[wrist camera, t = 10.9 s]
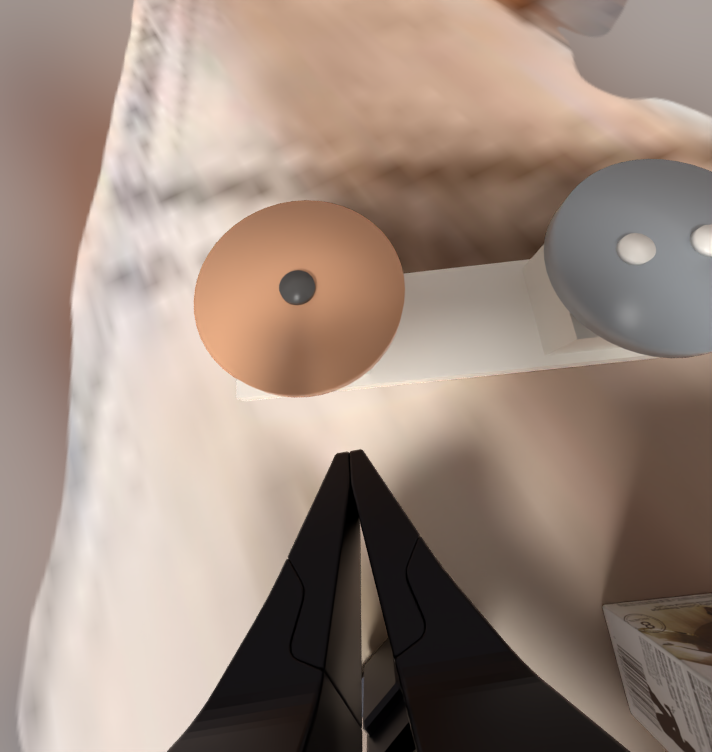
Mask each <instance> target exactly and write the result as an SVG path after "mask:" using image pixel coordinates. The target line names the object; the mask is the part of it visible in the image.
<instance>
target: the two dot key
mask: <svg viewBox="0 0 712 752" xmlns="http://www.w3.org/2000/svg"><path fill="white" fill-rule="evenodd" d="M544 261H545V266H546V271H547V274H548V277H549V280H550V282H551V285H552V287H553V288H554V290H555V292H556V294H557V296H558V297H559V299H560V300H561V302H562V303H563V304H564V306H565V307H566V308H567V309H568V311H569V312H570V313H571V314H572V315H573V316H574V317H575V318H576V319H577V320H578V321H579V322H580V323H582V324H583V325H584V326H585V327H586V328H588V329H589V330H590V331H592V332H593V333H595V334H596V335H597V336H599V337H601V338H603V339H605V340H606V341H608V342H610V343H612V344H614V345H616V346H619V347H621V348H623V349H626V350H629V351H632V352H636V353H639V354H643V355H648V356H653V357H662V358H687V357H693V356H699V355H704V354H707V353H711V352H712V172H711V171H709V170H706V169H703V168H700V167H697V166H694V165H691V164H687V163H682V162H678V161H671V160H663V159H642V160H632V161H626V162H621V163H618V164H614V165H611V166H608V167H606V168H604V169H601V170H599V171H597V172H595V173H594V174H592V175H590V176H589V177H587V178H586V179H585V180H584V181H582V182H581V183H580V184H579V185H578V186H577V187H576V188H575V189H574V190H573V191H572V192H571V193H570V195H569V196H568V197H567V198H566V200H565V201H564V202H563V203H562V205H561V206H560V207H559V208H558V210H557V211H556V213H555V214H554V216H553V217H552V219H551V221H550V224H549V226H548V228H547V232H546V236H545V242H544Z"/></svg>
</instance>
